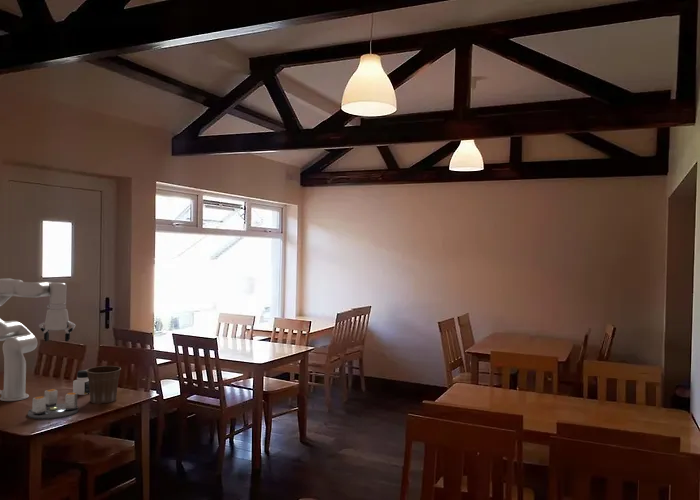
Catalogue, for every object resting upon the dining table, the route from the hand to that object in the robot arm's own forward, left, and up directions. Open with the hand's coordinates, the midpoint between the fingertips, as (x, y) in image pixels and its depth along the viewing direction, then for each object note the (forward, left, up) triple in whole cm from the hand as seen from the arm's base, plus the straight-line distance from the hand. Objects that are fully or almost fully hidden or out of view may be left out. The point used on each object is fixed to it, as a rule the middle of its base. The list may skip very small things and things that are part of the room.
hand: (56, 341), depth 286 cm
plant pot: (+23, 0, -31) cm, 38 cm away
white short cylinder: (+15, -21, -28) cm, 38 cm away
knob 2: (+3, -14, -28) cm, 32 cm away
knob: (+3, -28, -28) cm, 40 cm away
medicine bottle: (+8, +16, -31) cm, 35 cm away
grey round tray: (+7, -21, -30) cm, 38 cm away
